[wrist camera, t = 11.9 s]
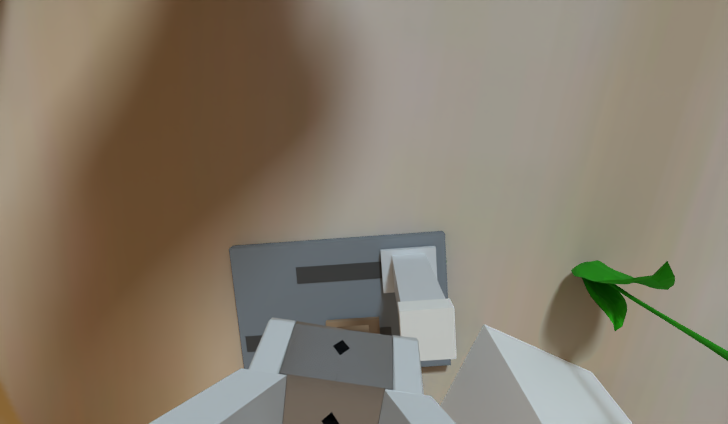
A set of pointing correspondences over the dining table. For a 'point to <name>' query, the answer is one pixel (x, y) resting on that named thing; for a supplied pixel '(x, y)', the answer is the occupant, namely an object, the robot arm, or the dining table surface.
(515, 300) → the dining table surface
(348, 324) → the walnut lever
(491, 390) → the milk
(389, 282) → the grey lever
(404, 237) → the control board
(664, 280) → the flower
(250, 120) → the dining table surface
